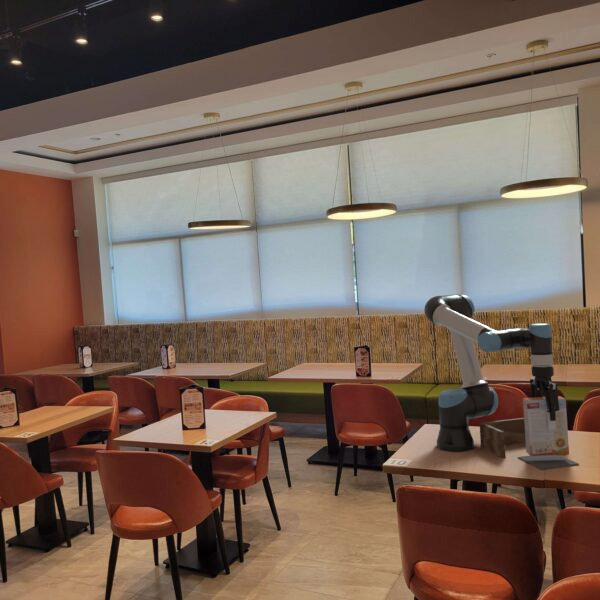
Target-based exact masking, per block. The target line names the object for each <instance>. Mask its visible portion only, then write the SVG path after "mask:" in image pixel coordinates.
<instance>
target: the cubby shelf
mask: <svg viewBox="0 0 600 600" xmlns="http://www.w3.org/2000/svg"><path fill="white" fill-rule="evenodd" d="M479 435H480V436H479V438H480V447H481V448H482V447H483V448H482V449H485V450H486V451H488V452H490V453H491V454H494V455H496V456H497V457H500V458H501V459H504V458H506V455H507V454H506V446H507V445H509V446H510V445H517V444H526V439H525V424H524V417H519V418H511V419H510V418H509V419H501V420H492V421H491V420H490V421H483V422H479Z"/></svg>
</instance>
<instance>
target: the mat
mask: <svg viewBox="0 0 600 600" xmlns="http://www.w3.org/2000/svg"><path fill="white" fill-rule="evenodd" d="M517 459H519V460H521V461H523V462H525V463H527V464H529V465H531V466H533V467H534V468H537V469H538V470H540V471H542V470H544V471H545V470H551V468H552V469H558V468H557V467H560V468H566V466H567V467H573V465H575V466H579V465H580V463H578V462H576V461H573V460H571V459H569V458H568V457H565V456H564V455H546V456H530V455H529V454H528V455H523V456H522V455H521V456H518V457H517Z"/></svg>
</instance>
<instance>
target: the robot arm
mask: <svg viewBox="0 0 600 600" xmlns="http://www.w3.org/2000/svg"><path fill="white" fill-rule="evenodd" d="M474 314H475V305H474V302H473V301H472V299H471V298H470V297H469V296H468V295H465V294H460V293H459V294H457V293H455V294H447V295H435V296H433V297H431V298H429V299H428V300H427V302H426V303H425V305H424V315H425V317H426V319H427V320H428V321H429V322H430V323H432V324H433V325H435V326H438V327H445V328H446V329H448V330H449V331H450V336H451V340H452V344H453V348H454V352H455V356H456V360H457V364H458V367H459V368H458V369H459V372H460V376H461V380H462V385H461V387H460V388H450V389H446V390H442V391H441V392H440V393H439V395H438V403H437V405H438V411H439V413H438V415H439V431H438V435H437V438H436V448H438V449H439V448H440V449H439V450H442V451H446V450H448V451H447V452H465V450H466V451H469V450H472V449H474V448H475V441H474V437H473V435H472V433H471V431H470V427H469V426H470V425H469V420H471V419H472V420H473V419H476V418H482V417H487V416H490V415H493V413H495V412H496V411H497V408H498V406H499V397H498V394H497V392H496V390H495V389H494V388H492V387H490V386H489V382H488V381H486V380H485V379H484V377H483V374H482V370H481V365H480V362H479V358H478V357H479V356H478V352H477V350H476V346H475V343H477V345H478V347H479V348H480V350H481V351H482V352H485V353H496V352H501V351H507V350H514V349H515V350H516V349H530V365H532V366H531V375H532V377H534V378H530V379H529V383H530V398H533V397H545V399H546V403H547V407H548V411H547V420H548V430H552V429H556V415H555V412H556V411H559V401H558V396H559V395H558V394H559V393H558V383H555V382H554V383H553V381H552V377H553V376H554V375H555V371H554V366H553V365H554V359H553V358H554V356H553V353H554V352H553V332H552V327H551V325H550V323H531V324H530V325H529V328H523V327H522V328H520V327H510V328H507V329H503V330H496V329H494V328H492V327H489V326H487V325H485V324H482V323H481V322H479V321H477V320H474V319H472V318H473V317H474Z"/></svg>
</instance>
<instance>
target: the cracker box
mask: <svg viewBox="0 0 600 600" xmlns="http://www.w3.org/2000/svg"><path fill="white" fill-rule="evenodd" d="M558 401H559V411H556V412H555V415H556V429H552V430H548V420H547V411H548V407H547V403H546V399H545V396H543V397H533V398H531V397H522V406H523V407H522V408H523V418H524V424H525V439H526V443H525V449H526V450H525V452H526V453H527V454H528V456H529V455H530V456H546V455H560V456H566V455H567V456H569V455H570V447H569V446H570V445H569V432H568V416H567V399H566V398H564V397H563V396H560V395H558Z"/></svg>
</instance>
